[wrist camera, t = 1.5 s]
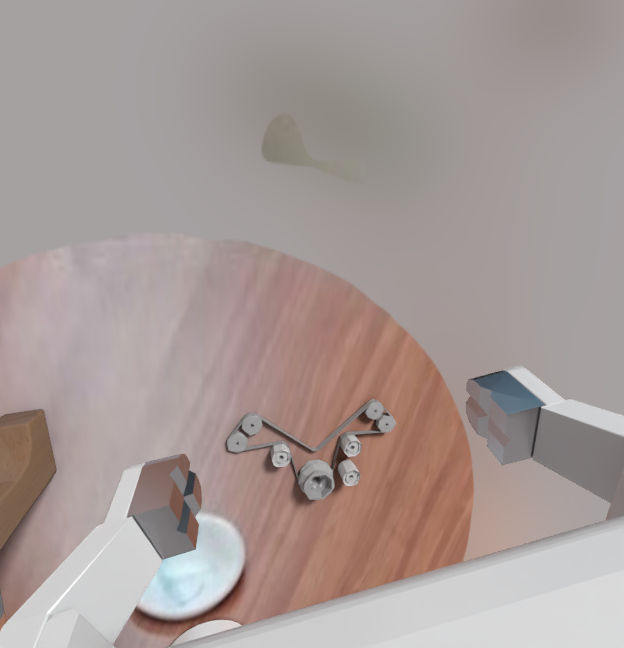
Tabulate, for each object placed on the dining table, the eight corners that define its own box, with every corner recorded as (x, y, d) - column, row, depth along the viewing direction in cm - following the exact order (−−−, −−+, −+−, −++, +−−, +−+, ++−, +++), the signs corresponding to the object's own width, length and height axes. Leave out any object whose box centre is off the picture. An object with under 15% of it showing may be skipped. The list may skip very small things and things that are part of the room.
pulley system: (386, 472, 64) (391, 394, 60) (399, 489, 59) (405, 406, 56) (229, 497, 57) (225, 411, 54) (230, 519, 53) (225, 427, 49)
